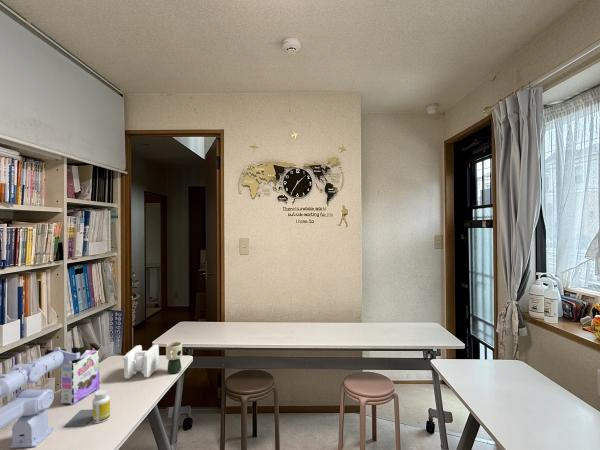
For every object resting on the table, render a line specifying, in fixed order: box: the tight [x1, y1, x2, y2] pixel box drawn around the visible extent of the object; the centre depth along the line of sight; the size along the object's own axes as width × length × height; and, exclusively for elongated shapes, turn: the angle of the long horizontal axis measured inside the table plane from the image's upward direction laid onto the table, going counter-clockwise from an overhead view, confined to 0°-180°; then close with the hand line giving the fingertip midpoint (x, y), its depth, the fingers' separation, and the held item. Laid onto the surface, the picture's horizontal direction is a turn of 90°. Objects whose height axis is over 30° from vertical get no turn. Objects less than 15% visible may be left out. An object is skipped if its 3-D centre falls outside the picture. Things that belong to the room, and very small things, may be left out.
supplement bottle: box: [92, 389, 111, 424], centre depth 124 cm, size 5×5×10 cm
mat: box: [64, 408, 93, 428], centre depth 125 cm, size 10×7×1 cm
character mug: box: [165, 341, 183, 374], centre depth 163 cm, size 11×7×13 cm, turn 1°
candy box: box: [59, 349, 100, 406], centre depth 141 cm, size 14×6×16 cm, turn 168°
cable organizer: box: [122, 343, 160, 379], centre depth 161 cm, size 15×11×12 cm
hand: (74, 350), depth 134 cm, fingers open, 7 cm apart
